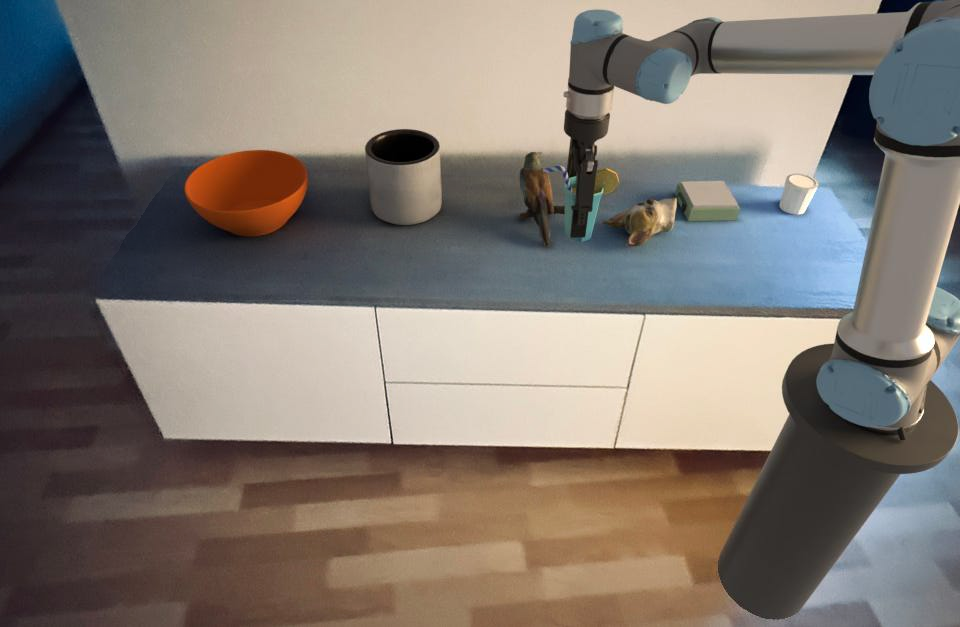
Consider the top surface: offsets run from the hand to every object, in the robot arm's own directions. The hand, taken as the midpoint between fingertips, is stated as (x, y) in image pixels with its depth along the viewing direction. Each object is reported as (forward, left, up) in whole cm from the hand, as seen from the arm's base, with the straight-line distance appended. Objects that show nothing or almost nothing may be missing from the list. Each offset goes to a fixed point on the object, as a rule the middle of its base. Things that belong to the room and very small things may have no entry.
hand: (574, 225), depth 128 cm
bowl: (+22, +66, -12) cm, 71 cm away
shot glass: (+22, -55, -12) cm, 60 cm away
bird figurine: (+19, +3, -12) cm, 22 cm away
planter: (+25, +33, -12) cm, 43 cm away
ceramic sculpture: (+13, -18, -12) cm, 25 cm away
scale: (+23, -35, -12) cm, 43 cm away
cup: (0, 0, -2) cm, 2 cm away
